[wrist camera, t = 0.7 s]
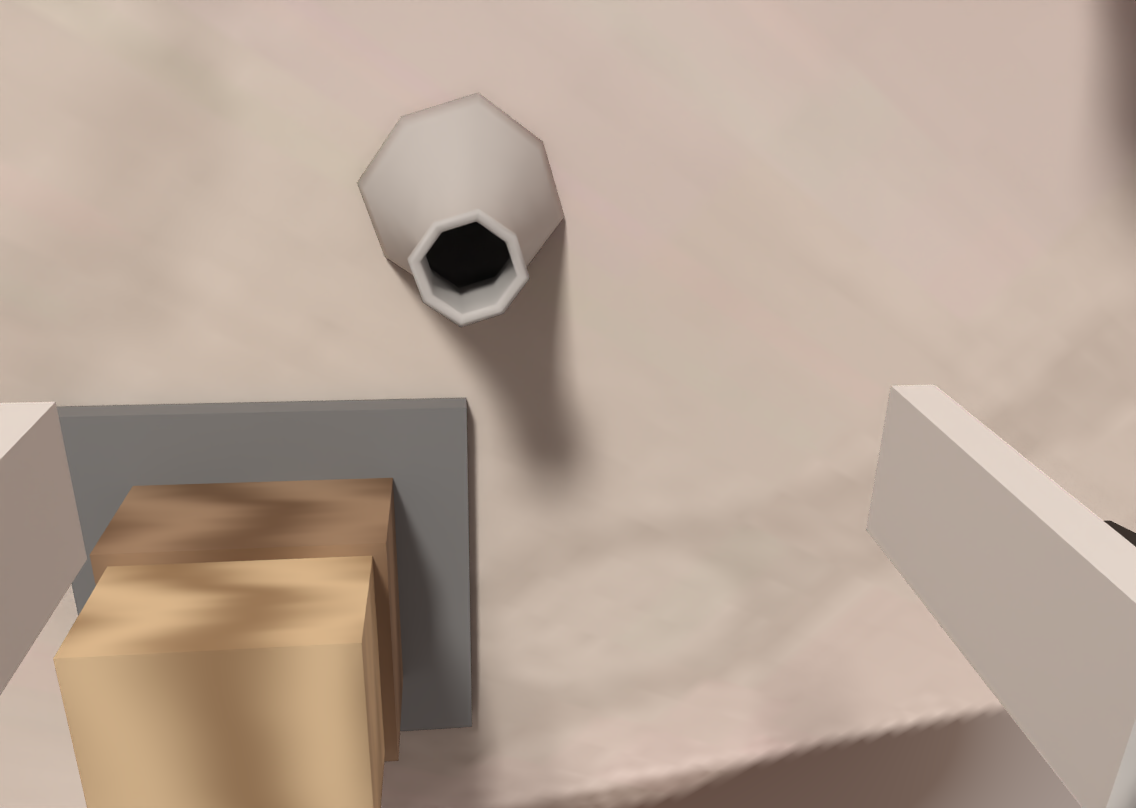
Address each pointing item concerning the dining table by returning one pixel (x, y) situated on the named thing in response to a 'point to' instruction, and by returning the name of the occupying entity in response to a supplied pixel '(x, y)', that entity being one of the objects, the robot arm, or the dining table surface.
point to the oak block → (227, 686)
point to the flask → (462, 205)
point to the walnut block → (272, 543)
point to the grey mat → (312, 452)
